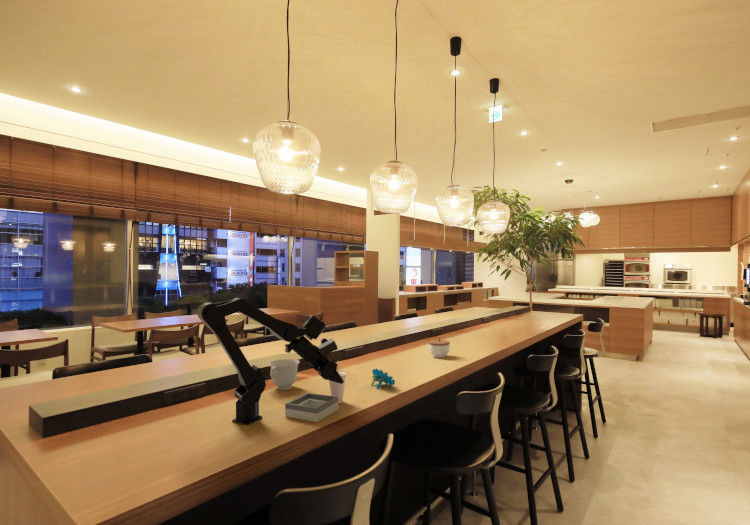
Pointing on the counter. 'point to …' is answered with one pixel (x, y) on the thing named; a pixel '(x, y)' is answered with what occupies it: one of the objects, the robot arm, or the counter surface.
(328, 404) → the socket box
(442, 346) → the lidded jar
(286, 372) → the teacup
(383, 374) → the blue bumpy figure
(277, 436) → the counter surface
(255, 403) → the robot arm
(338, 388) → the smoothie
